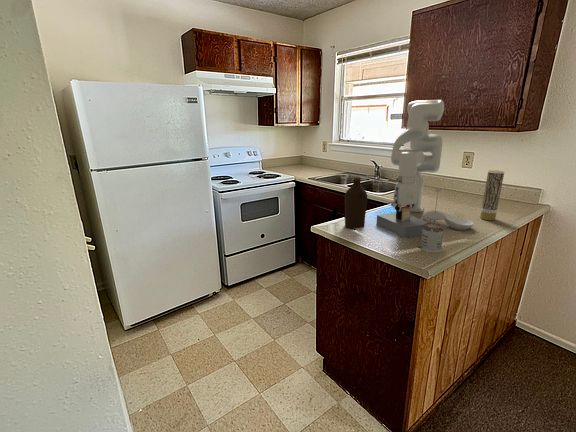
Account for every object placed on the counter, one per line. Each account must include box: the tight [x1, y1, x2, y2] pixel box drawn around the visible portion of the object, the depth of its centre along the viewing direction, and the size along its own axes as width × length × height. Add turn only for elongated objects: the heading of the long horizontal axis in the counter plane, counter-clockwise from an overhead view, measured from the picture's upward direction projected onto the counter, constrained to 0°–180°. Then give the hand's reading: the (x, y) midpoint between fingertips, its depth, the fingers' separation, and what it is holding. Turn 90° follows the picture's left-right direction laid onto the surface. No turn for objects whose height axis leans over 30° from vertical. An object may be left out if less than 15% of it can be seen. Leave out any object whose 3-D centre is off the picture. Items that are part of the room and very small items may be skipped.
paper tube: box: [480, 169, 505, 221], centre depth 159 cm, size 7×7×25 cm
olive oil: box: [344, 175, 368, 231], centre depth 150 cm, size 11×11×25 cm
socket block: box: [376, 211, 430, 239], centre depth 146 cm, size 20×14×6 cm
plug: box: [396, 205, 411, 221], centre depth 145 cm, size 4×4×11 cm
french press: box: [418, 187, 446, 253], centre depth 125 cm, size 10×12×25 cm
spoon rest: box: [419, 209, 475, 231], centre depth 152 cm, size 24×12×7 cm, turn 61°
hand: (402, 217), depth 145 cm, fingers closed on plug, 4 cm apart
